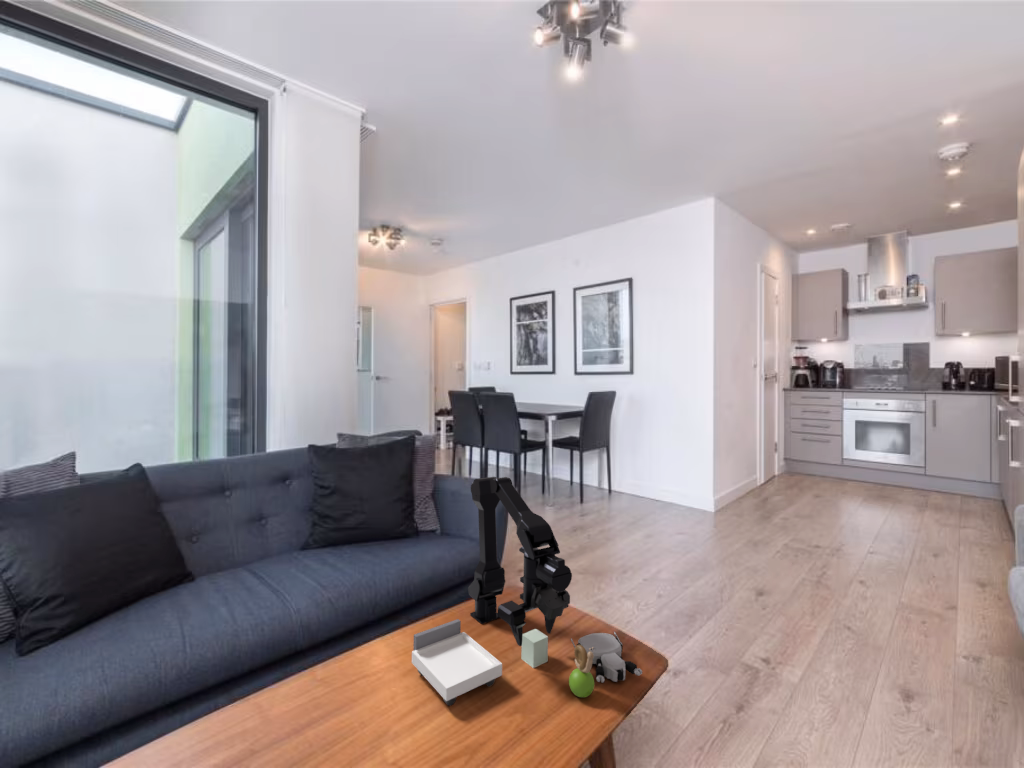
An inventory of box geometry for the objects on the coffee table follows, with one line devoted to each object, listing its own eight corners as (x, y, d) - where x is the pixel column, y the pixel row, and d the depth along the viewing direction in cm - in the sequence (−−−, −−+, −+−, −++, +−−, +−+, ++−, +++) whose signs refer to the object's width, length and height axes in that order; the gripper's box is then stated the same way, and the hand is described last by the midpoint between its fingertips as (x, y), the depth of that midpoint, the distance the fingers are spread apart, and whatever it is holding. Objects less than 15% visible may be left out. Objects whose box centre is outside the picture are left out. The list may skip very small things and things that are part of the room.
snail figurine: (581, 709, 95) (582, 651, 95) (563, 691, 101) (564, 636, 101) (602, 701, 98) (603, 645, 97) (584, 683, 103) (584, 630, 103)
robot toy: (645, 685, 104) (613, 644, 119) (646, 666, 104) (613, 627, 118) (596, 695, 101) (568, 651, 115) (597, 675, 101) (569, 634, 115)
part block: (521, 659, 112) (521, 634, 112) (535, 652, 115) (535, 628, 115) (533, 668, 109) (533, 642, 109) (547, 661, 111) (547, 636, 111)
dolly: (409, 670, 107) (409, 636, 107) (461, 649, 116) (461, 617, 116) (446, 713, 94) (446, 673, 93) (501, 686, 102) (502, 649, 102)
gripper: (526, 598, 100) (525, 670, 100) (586, 576, 111) (585, 641, 111) (496, 580, 108) (495, 646, 109) (555, 561, 120) (554, 621, 120)
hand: (534, 639), depth 112 cm, fingers open, 9 cm apart
